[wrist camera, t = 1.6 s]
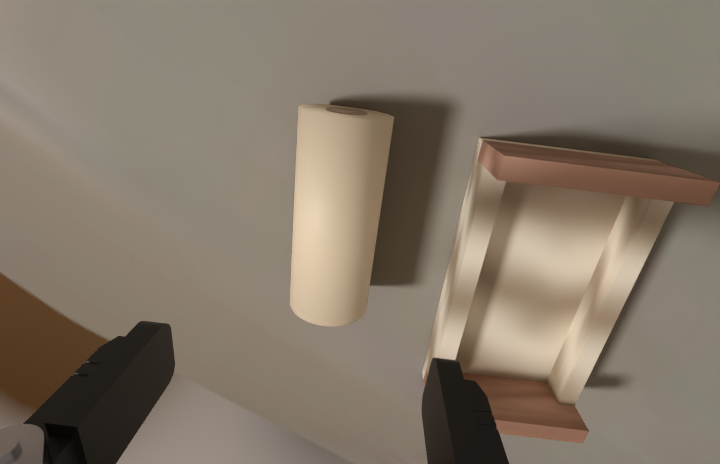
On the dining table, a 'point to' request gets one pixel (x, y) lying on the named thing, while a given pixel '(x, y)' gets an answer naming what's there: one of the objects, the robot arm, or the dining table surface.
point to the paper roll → (336, 210)
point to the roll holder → (548, 273)
